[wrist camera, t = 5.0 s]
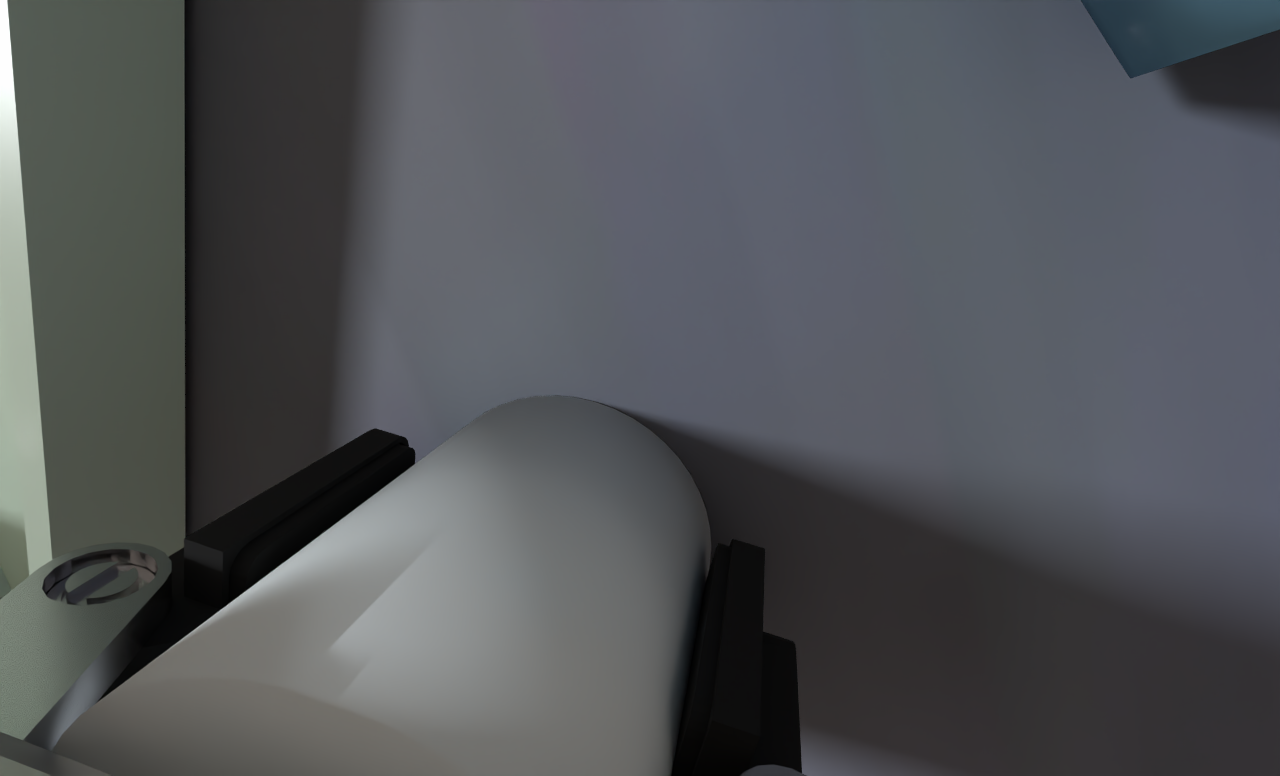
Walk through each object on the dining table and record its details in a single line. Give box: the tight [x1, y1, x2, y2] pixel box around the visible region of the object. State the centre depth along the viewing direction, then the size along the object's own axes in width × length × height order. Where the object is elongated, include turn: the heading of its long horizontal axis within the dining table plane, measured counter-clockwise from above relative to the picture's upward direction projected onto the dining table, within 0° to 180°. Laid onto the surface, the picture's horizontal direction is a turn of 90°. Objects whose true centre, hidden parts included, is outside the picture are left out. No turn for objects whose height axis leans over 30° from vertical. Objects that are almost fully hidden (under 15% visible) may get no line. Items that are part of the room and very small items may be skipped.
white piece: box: [51, 395, 711, 776], centre depth 9 cm, size 5×5×7 cm
